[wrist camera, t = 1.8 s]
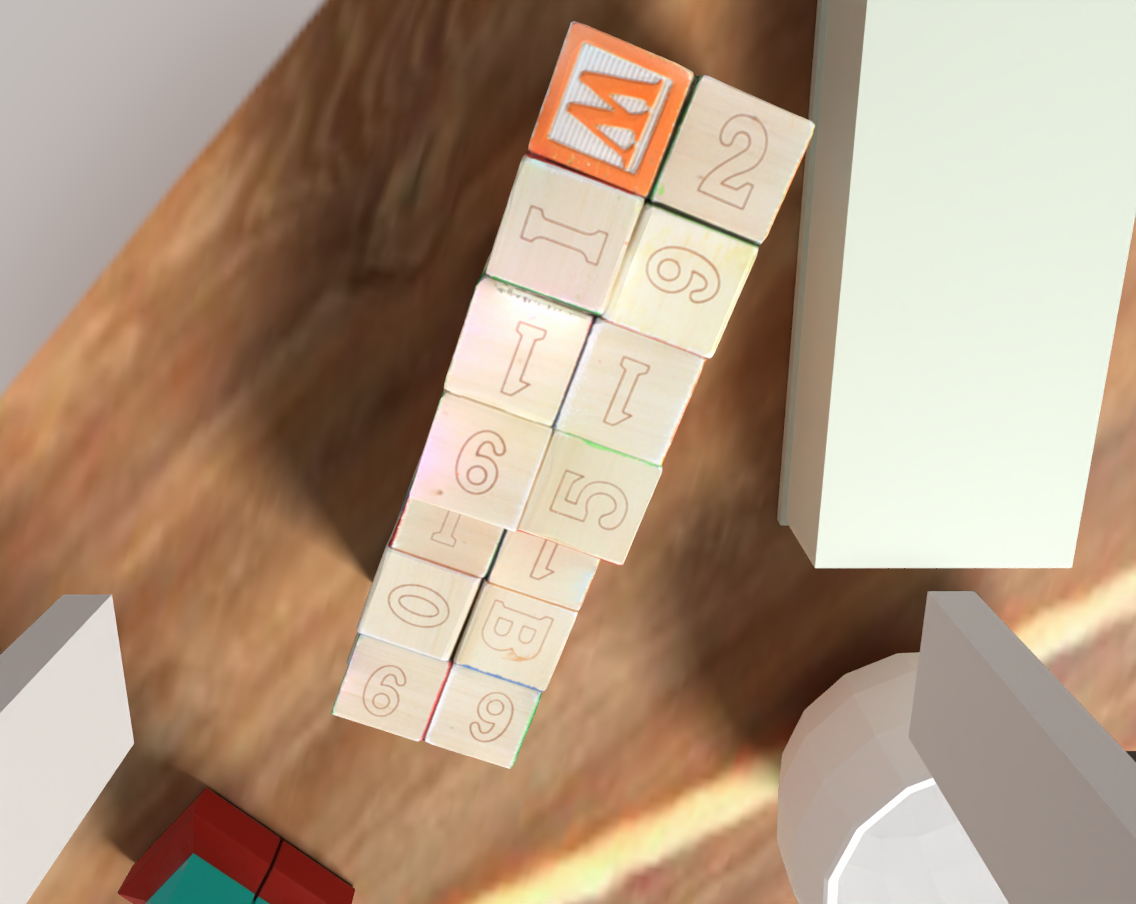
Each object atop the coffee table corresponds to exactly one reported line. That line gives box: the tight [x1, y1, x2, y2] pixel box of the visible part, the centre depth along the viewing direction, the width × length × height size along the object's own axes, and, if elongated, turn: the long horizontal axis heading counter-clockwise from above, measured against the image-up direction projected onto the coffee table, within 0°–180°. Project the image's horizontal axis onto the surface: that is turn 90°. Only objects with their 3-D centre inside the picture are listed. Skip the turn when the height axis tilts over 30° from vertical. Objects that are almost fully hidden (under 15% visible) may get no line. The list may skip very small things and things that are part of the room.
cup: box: [777, 652, 1009, 904], centre depth 37 cm, size 12×12×10 cm
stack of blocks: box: [332, 21, 815, 769], centre depth 31 cm, size 21×6×12 cm, turn 159°
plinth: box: [777, 0, 1136, 568], centre depth 33 cm, size 9×24×5 cm, turn 0°
